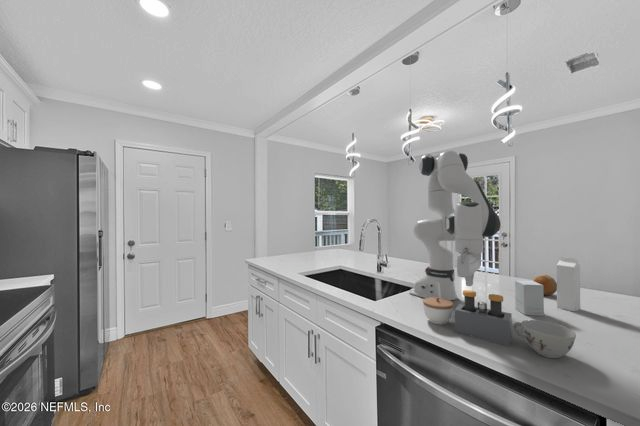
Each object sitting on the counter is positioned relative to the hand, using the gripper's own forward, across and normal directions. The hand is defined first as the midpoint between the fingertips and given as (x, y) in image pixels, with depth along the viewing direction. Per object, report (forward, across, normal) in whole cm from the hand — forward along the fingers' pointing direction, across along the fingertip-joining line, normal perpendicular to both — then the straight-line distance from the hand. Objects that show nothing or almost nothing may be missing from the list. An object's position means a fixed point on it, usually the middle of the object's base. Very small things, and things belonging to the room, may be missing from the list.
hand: (469, 285), depth 96 cm
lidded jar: (+17, +2, +12) cm, 21 cm away
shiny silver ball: (+9, 0, -4) cm, 9 cm away
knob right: (+12, 0, -8) cm, 14 cm away
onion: (+16, +69, -20) cm, 74 cm away
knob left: (+12, 0, 0) cm, 12 cm away
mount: (+17, 0, -4) cm, 17 cm away
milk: (+16, +51, -28) cm, 61 cm away
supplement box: (+16, +35, -15) cm, 42 cm away
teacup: (+17, -2, -20) cm, 26 cm away
